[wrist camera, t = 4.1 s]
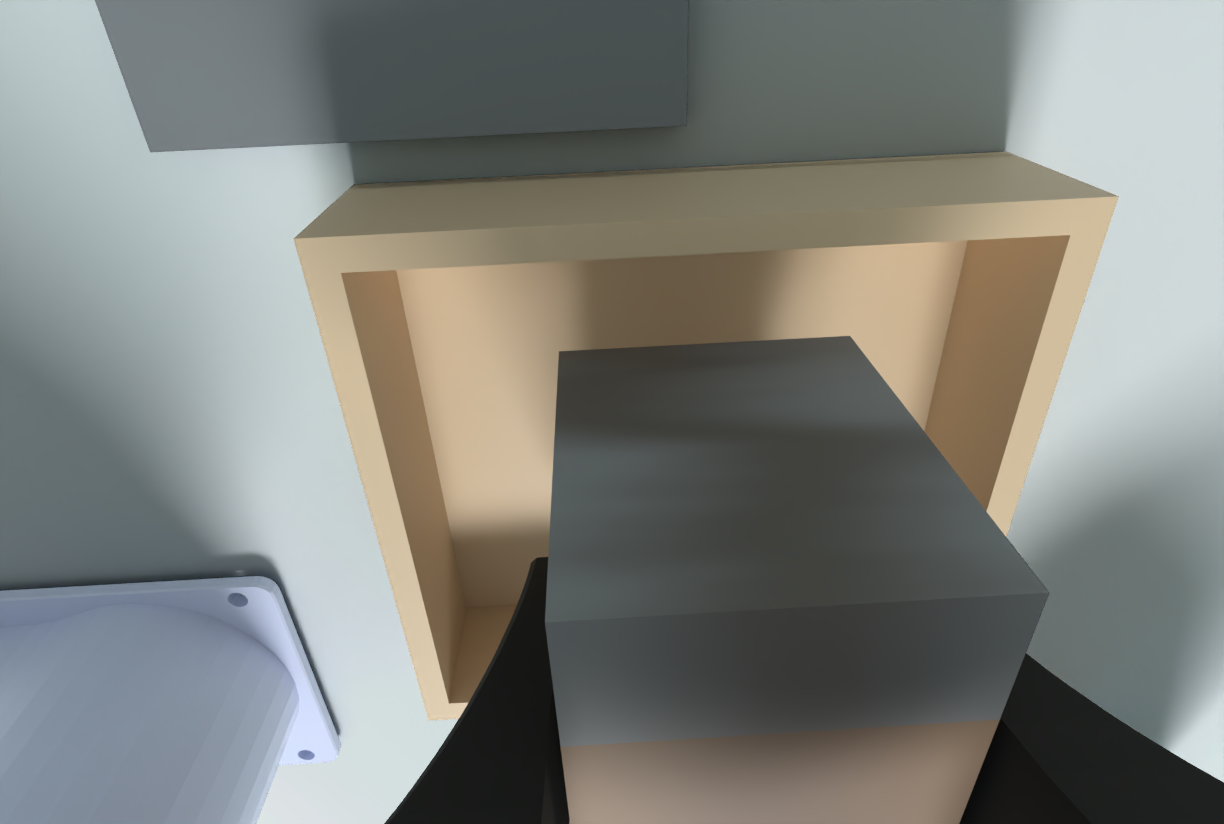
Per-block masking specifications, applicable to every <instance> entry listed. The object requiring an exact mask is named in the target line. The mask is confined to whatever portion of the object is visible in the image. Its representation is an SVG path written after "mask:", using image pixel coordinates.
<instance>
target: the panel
mask: <svg viewBox="0 0 1224 824" xmlns="http://www.w3.org/2000/svg"><path fill="white" fill-rule="evenodd" d="M95 2H96V4H97V7H98V10H99V13H100V15H101V18H102V21H103V24H104V26H105V29H106V32H107V35H108V37H109V40H110V43H111V46H112V48H113V51H114V54H115V57H116V59H117V62H118V65H119V68H120V70H121V73H122V76H123V79H124V81H125V84H126V87H127V90H128V92H129V95H130V98H131V101H132V103H133V106H134V109H135V112H136V114H137V117H138V120H139V122H140V125H141V128H142V131H143V133H144V136H145V139H146V142H147V144H148V147H149V150H150V152H165V151H185V150H205V149H225V148H246V147H266V146H286V145H306V144H326V143H346V142H366V141H387V140H407V139H427V138H447V137H467V136H487V135H508V134H528V133H548V132H568V131H588V130H608V129H628V128H649V127H669V126H687V61H688V0H95Z"/></svg>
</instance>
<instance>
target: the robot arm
mask: <svg viewBox="0 0 1224 824" xmlns="http://www.w3.org/2000/svg"><path fill="white" fill-rule="evenodd" d="M547 572H548V557H538V558H536V559H535V560H533V561H532V562H531V564H530V568H529V572H528V576H527V579H526V582H525V585H524V588H523V590H522V593H521V596H520V598H519V601H518V603H517V606H516V608H515V611H514V613H513V616H512V618H511V620H510V623H509V625H508V627H507V629H506V631H505V633H504V635H503V638H502V640H501V642H500V644H499V646H498V648H497V650H496V653H495V655H494V657H493V659H492V661H491V663H490V664H489V666H488V668H487V670H486V672H485V674H484V675H483V677H482V679H481V681H480V683H479V685H478V686H477V688H476V690H475V692H474V694H473V696H472V698H471V699H470V701H469V703H468V704H467V706H466V708H465V709H464V711H463V713H462V715H461V716H460V718H459V719H458V721H457V723H456V724H455V726H454V728H453V729H452V731H451V732H450V734H449V735H448V737H447V738H446V740H445V741H444V743H443V745H442V746H441V748H440V749H439V751H438V752H437V754H436V755H435V756H434V758H433V759H432V761H431V762H430V764H429V765H428V766H427V768H426V769H425V771H424V772H423V773H422V775H421V776H420V778H419V779H418V780H417V782H416V783H415V785H414V786H413V787H412V789H411V790H410V792H409V793H408V794H407V795H406V797H405V798H404V799H403V801H402V802H401V803H400V805H399V806H398V807H397V809H396V810H395V811H394V812H393V814H392V815H391V816H390V817H389V819H388V820H387V821H386V822H385V823H384V824H570V818H569V810H568V802H567V794H566V786H565V778H564V770H563V762H562V755H561V747H560V739H559V731H558V723H557V715H556V707H555V699H554V691H553V683H552V675H551V667H550V659H549V651H548V643H547V635H546V627H545V611H546V591H547ZM237 593H240V594H242V595H244V596H242V595H239V594H237ZM340 748H341V743H340V740H339V738H338V735H337V733H336V730H335V728H334V725H333V723H332V720H331V718H330V715H329V713H328V710H327V707H326V705H325V702H324V700H323V697H322V695H321V692H320V690H319V687H318V685H317V682H316V680H315V677H314V675H313V672H312V669H311V667H310V664H309V662H308V659H307V657H306V654H305V652H304V649H303V647H302V644H301V642H300V639H299V637H298V634H297V631H296V629H295V626H294V624H293V621H292V619H291V616H290V614H289V611H288V609H287V606H286V604H285V601H284V599H283V596H282V593H281V591H280V588H279V587H278V585H277V584H276V583H275V582H274V581H272V580H271V579H269V578H266V577H262V576H248V577H231V578H213V579H196V580H179V581H161V582H144V583H127V584H109V585H92V586H75V587H57V588H40V589H23V590H5V591H0V824H256V823H257V820H258V818H259V815H260V812H261V810H262V807H263V804H264V802H265V799H266V797H267V794H268V791H269V789H270V786H271V784H272V781H273V778H274V776H275V773H276V771H277V768H278V765H292V764H308V763H324V762H330V761H333V760H334V759H336V758H337V756H338V754H339V751H340ZM959 824H1224V783H1223V782H1222V781H1220V780H1218V779H1216V778H1215V777H1213V776H1211V775H1209V774H1208V773H1206V772H1204V771H1202V770H1200V769H1199V768H1197V767H1195V766H1193V765H1192V764H1190V763H1188V762H1186V761H1185V760H1183V759H1181V758H1180V757H1178V756H1176V755H1175V754H1173V753H1171V752H1170V751H1168V750H1167V749H1165V748H1163V747H1162V746H1160V745H1158V744H1157V743H1155V742H1153V741H1152V740H1150V739H1148V738H1147V737H1145V736H1144V735H1142V734H1140V733H1139V732H1137V731H1135V730H1134V729H1132V728H1131V727H1129V726H1128V725H1126V724H1124V723H1123V722H1121V721H1120V720H1118V719H1117V718H1115V717H1114V716H1112V715H1111V714H1109V713H1108V712H1106V711H1105V710H1103V709H1102V708H1100V707H1099V706H1097V705H1096V704H1095V703H1093V702H1092V701H1090V700H1089V699H1087V698H1086V697H1084V696H1083V695H1082V694H1080V693H1079V692H1077V691H1076V690H1074V689H1073V688H1071V687H1070V686H1068V685H1067V684H1066V683H1064V682H1063V681H1062V680H1060V679H1059V678H1057V677H1056V676H1055V675H1053V674H1052V673H1051V672H1049V671H1048V670H1047V669H1045V668H1044V667H1043V666H1041V665H1040V664H1039V663H1038V662H1036V661H1035V660H1034V659H1033V658H1031V657H1030V656H1029V655H1027V654H1025V656H1024V659H1023V661H1022V664H1021V667H1020V669H1019V672H1018V674H1017V677H1016V679H1015V682H1014V684H1013V687H1012V690H1011V692H1010V695H1009V697H1008V700H1007V702H1006V705H1005V708H1004V710H1003V713H1002V715H1001V718H1000V720H999V723H998V726H997V728H996V731H995V733H994V736H993V738H992V741H991V744H990V746H989V749H988V751H987V754H986V756H985V759H984V761H983V764H982V767H981V769H980V772H979V774H978V777H977V779H976V782H975V785H974V787H973V790H972V792H971V795H970V797H969V800H968V803H967V805H966V808H965V810H964V813H963V815H962V818H961V821H960V823H959Z"/></svg>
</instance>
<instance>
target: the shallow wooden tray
mask: <svg viewBox="0 0 1224 824" xmlns="http://www.w3.org/2000/svg"><path fill="white" fill-rule="evenodd" d="M1118 197H1119V196H1116V195H1114V194H1111V193H1109V192H1106V191H1104V190H1101V189H1099V188H1096V187H1094V186H1091V185H1089V184H1086V183H1084V182H1081V181H1079V180H1076V179H1074V178H1071V177H1069V176H1066V175H1064V174H1061V173H1059V172H1056V171H1054V170H1051V169H1049V168H1046V167H1044V166H1041V165H1039V164H1036V163H1034V162H1031V161H1029V160H1026V159H1024V158H1021V157H1019V156H1016V155H1014V154H1011V153H1009V152H987V153H967V154H947V155H928V156H908V157H888V158H868V159H848V160H828V161H809V162H789V163H769V164H749V165H729V166H709V167H690V168H670V169H650V170H630V171H610V172H590V173H571V174H551V175H531V176H511V177H491V178H471V179H452V180H432V181H412V182H392V183H372V184H354V185H353V186H351V187H350V188H349V189H348V190H347V191H346V192H345V193H344V194H343V195H341V196H340V197H339V198H338V199H337V200H336V201H335V202H334V203H333V204H332V205H330V206H329V207H328V208H327V209H326V210H325V211H324V212H323V213H322V214H320V215H319V216H318V217H317V218H316V219H315V220H314V221H313V222H312V223H311V224H309V225H308V226H307V227H306V228H305V229H304V230H303V231H302V232H301V233H299V234H298V235H297V236H296V237H295V238H294V242H295V245H296V249H297V252H298V256H299V260H300V263H301V267H302V270H303V274H304V277H305V281H306V285H307V288H308V292H309V295H310V299H311V302H312V306H313V310H314V313H315V317H316V320H317V324H318V327H319V331H320V335H321V338H322V342H323V345H324V349H325V352H326V356H327V360H328V363H329V367H330V370H331V374H332V377H333V381H334V385H335V388H336V392H337V395H338V399H339V402H340V406H341V409H342V413H343V417H344V420H345V424H346V427H347V431H348V434H349V438H350V442H351V445H352V449H353V452H354V456H355V459H356V463H357V467H358V470H359V474H360V477H361V481H362V484H363V488H364V492H365V495H366V499H367V502H368V506H369V509H370V513H371V517H372V520H373V524H374V527H375V531H376V534H377V538H378V542H379V545H380V549H381V552H382V556H383V559H384V563H385V567H386V570H387V574H388V577H389V581H390V584H391V588H392V591H393V595H394V599H395V602H396V606H397V609H398V613H399V616H400V620H401V624H402V627H403V631H404V634H405V638H406V641H407V645H408V649H409V652H410V656H411V659H412V663H413V666H414V670H415V674H416V677H417V681H418V684H419V688H420V691H421V695H422V699H423V702H424V706H425V709H426V713H427V716H428V720H445V719H459V718H460V716H461V715H462V713H463V711H464V709H465V708H466V706H467V704H468V703H469V701H470V699H471V698H472V696H473V694H474V692H475V690H476V688H477V686H478V685H479V683H480V681H481V679H482V677H483V675H484V674H485V672H486V670H487V668H488V666H489V664H490V663H491V661H492V659H493V657H494V655H495V653H496V650H497V648H498V646H499V644H500V642H501V640H502V638H503V635H504V633H505V631H506V629H507V627H508V625H509V623H510V620H511V618H512V616H513V613H514V611H515V608H516V606H517V603H518V601H519V598H520V596H521V593H522V590H523V588H524V585H525V582H526V579H527V576H528V572H529V568H530V564H531V562H532V561H533V560H535V559H536V558H538V557H548V553H549V533H550V514H551V494H552V475H553V456H554V436H555V417H556V397H557V378H558V359H559V351H574V350H593V349H612V348H630V347H649V346H668V345H687V344H705V343H724V342H743V341H761V340H780V339H799V338H817V337H836V336H851V338H852V339H853V340H854V342H855V343H856V344H857V345H858V347H859V348H860V349H861V351H862V352H863V353H864V354H865V356H866V357H867V358H868V360H869V361H870V362H871V363H872V365H873V366H874V367H875V369H876V370H877V371H878V373H879V374H880V375H881V376H882V378H883V379H884V380H885V382H886V383H887V384H888V385H889V387H890V388H891V389H892V391H893V392H894V393H895V394H896V396H897V397H898V398H899V400H900V401H901V402H902V403H903V405H904V406H905V407H906V409H907V410H908V411H909V412H910V414H911V415H912V416H913V418H914V419H915V420H916V421H917V423H918V424H919V425H920V427H921V428H922V429H923V431H924V432H925V433H926V434H927V436H928V437H929V438H930V440H931V441H932V442H933V443H934V445H935V446H936V447H937V449H938V450H939V451H940V452H941V454H942V455H943V456H944V458H945V459H946V460H947V461H948V463H949V464H950V465H951V467H952V468H953V469H954V470H955V472H956V473H957V474H958V476H959V477H960V478H961V479H962V481H963V482H964V483H965V485H966V486H967V487H968V489H969V490H970V491H971V492H972V494H973V495H974V496H975V498H976V499H977V500H978V501H979V503H980V504H981V505H982V507H983V508H984V509H985V510H986V512H987V513H988V514H989V516H990V517H991V518H992V519H993V521H994V522H995V523H996V525H997V526H998V527H999V528H1000V530H1001V531H1002V532H1003V534H1004V535H1005V536H1007V533H1008V530H1009V527H1010V524H1011V521H1012V518H1013V515H1014V512H1015V509H1016V506H1017V503H1018V500H1019V497H1020V494H1021V491H1022V488H1023V485H1024V482H1025V478H1026V475H1027V472H1028V469H1029V466H1030V463H1031V460H1032V457H1033V454H1034V451H1035V448H1036V445H1037V442H1038V439H1039V436H1040V433H1041V430H1042V427H1043V424H1044V421H1045V418H1046V415H1047V412H1048V409H1049V406H1050V403H1051V400H1052V397H1053V394H1054V391H1055V388H1056V385H1057V382H1058V379H1059V375H1060V372H1061V369H1062V366H1063V363H1064V360H1065V357H1066V354H1067V351H1068V348H1069V345H1070V342H1071V339H1072V336H1073V333H1074V330H1075V327H1076V324H1077V321H1078V318H1079V315H1080V312H1081V309H1082V306H1083V303H1084V300H1085V297H1086V294H1087V291H1088V288H1089V285H1090V282H1091V279H1092V275H1093V272H1094V269H1095V266H1096V263H1097V260H1098V257H1099V254H1100V251H1101V248H1102V245H1103V242H1104V239H1105V236H1106V233H1107V230H1108V227H1109V224H1110V221H1111V218H1112V215H1113V212H1114V209H1115V206H1116V203H1117V200H1118Z"/></svg>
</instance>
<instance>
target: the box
mask: <svg viewBox="0 0 1224 824" xmlns="http://www.w3.org/2000/svg"><path fill="white" fill-rule="evenodd" d="M1048 595H1049V592H1048V590H1047V589H1046V588H1045V586H1044V585H1043V584H1042V583H1041V581H1040V580H1039V579H1038V577H1037V576H1036V575H1035V574H1034V572H1033V571H1032V570H1031V568H1030V567H1029V566H1028V565H1027V563H1026V562H1025V561H1024V559H1023V558H1022V557H1021V556H1020V554H1019V553H1018V552H1017V550H1016V549H1015V548H1014V547H1013V545H1012V544H1011V543H1010V541H1009V540H1008V539H1007V537H1006V536H1005V535H1004V534H1003V532H1002V531H1001V530H1000V528H999V527H998V526H997V525H996V523H995V522H994V521H993V519H992V518H991V517H990V516H989V514H988V513H987V512H986V510H985V509H984V508H983V507H982V505H981V504H980V503H979V501H978V500H977V499H976V498H975V496H974V495H973V494H972V492H971V491H970V490H969V489H968V487H967V486H966V485H965V483H964V482H963V481H962V479H961V478H960V477H959V476H958V474H957V473H956V472H955V470H954V469H953V468H952V467H951V465H950V464H949V463H948V461H947V460H946V459H945V458H944V456H943V455H942V454H941V452H940V451H939V450H938V449H937V447H936V446H935V445H934V443H933V442H932V441H931V440H930V438H929V437H928V436H927V434H926V433H925V432H924V431H923V429H922V428H921V427H920V425H919V424H918V423H917V421H916V420H915V419H914V418H913V416H912V415H911V414H910V412H909V411H908V410H907V409H906V407H905V406H904V405H903V403H902V402H901V401H900V400H899V398H898V397H897V396H896V394H895V393H894V392H893V391H892V389H891V388H890V387H889V385H888V384H887V383H886V382H885V380H884V379H883V378H882V376H881V375H880V374H879V373H878V371H877V370H876V369H875V367H874V366H873V365H872V363H871V362H870V361H869V360H868V358H867V357H866V356H865V354H864V353H863V352H862V351H861V349H860V348H859V347H858V345H857V344H856V343H855V342H854V340H853V339H852V338H851V336H836V337H817V338H799V339H780V340H761V341H743V342H724V343H705V344H687V345H668V346H649V347H630V348H612V349H593V350H574V351H559V359H558V378H557V397H556V417H555V436H554V456H553V475H552V494H551V514H550V533H549V553H548V572H547V591H546V611H545V627H546V635H547V643H548V651H549V659H550V667H551V675H552V683H553V691H554V699H555V707H556V715H557V723H558V731H559V739H560V747H561V755H562V762H563V770H564V778H565V786H566V794H567V802H568V810H569V818H570V824H959V823H960V821H961V818H962V815H963V813H964V810H965V808H966V805H967V803H968V800H969V797H970V795H971V792H972V790H973V787H974V785H975V782H976V779H977V777H978V774H979V772H980V769H981V767H982V764H983V761H984V759H985V756H986V754H987V751H988V749H989V746H990V744H991V741H992V738H993V736H994V733H995V731H996V728H997V726H998V723H999V720H1000V718H1001V715H1002V713H1003V710H1004V708H1005V705H1006V702H1007V700H1008V697H1009V695H1010V692H1011V690H1012V687H1013V684H1014V682H1015V679H1016V677H1017V674H1018V672H1019V669H1020V667H1021V664H1022V661H1023V659H1024V656H1025V654H1026V651H1027V649H1028V646H1029V643H1030V641H1031V638H1032V636H1033V633H1034V631H1035V628H1036V625H1037V623H1038V620H1039V618H1040V615H1041V613H1042V610H1043V607H1044V605H1045V602H1046V600H1047V597H1048Z"/></svg>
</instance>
